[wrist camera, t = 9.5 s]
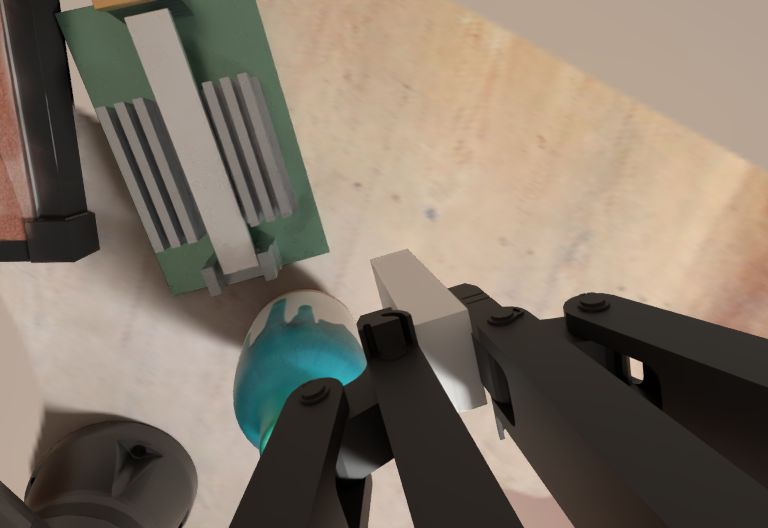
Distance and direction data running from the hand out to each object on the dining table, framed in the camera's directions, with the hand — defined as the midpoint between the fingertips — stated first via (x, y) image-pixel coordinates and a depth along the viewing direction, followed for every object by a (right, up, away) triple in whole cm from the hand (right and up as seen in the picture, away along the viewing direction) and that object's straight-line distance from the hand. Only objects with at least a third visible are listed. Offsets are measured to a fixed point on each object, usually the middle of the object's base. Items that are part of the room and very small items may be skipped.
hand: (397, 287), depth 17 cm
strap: (-15, +10, +18) cm, 25 cm away
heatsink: (-16, +11, +22) cm, 29 cm away
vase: (-9, -5, +28) cm, 30 cm away
